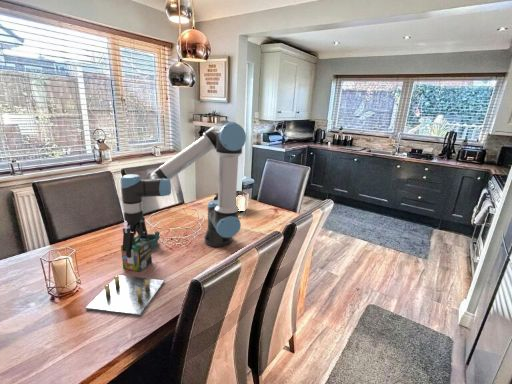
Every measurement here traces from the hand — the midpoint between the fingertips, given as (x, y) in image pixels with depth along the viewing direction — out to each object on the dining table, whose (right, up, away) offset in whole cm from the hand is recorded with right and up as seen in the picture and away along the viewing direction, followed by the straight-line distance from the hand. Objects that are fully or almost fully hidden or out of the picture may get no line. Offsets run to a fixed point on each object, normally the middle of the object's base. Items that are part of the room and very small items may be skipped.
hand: (137, 257), depth 125 cm
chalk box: (0, -4, +1) cm, 4 cm away
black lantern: (+33, +17, +77) cm, 86 cm away
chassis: (+5, -10, -18) cm, 22 cm away
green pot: (-1, +1, +19) cm, 19 cm away
